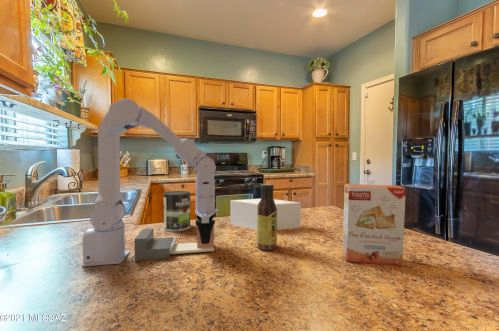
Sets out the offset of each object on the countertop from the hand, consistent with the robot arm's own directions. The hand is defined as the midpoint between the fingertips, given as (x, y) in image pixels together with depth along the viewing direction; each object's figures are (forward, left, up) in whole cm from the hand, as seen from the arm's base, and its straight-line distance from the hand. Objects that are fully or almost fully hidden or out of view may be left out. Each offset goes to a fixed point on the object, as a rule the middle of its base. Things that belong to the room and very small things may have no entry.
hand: (205, 239), depth 72 cm
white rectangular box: (+24, +20, -3) cm, 31 cm away
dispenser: (-14, 0, -3) cm, 15 cm away
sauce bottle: (+19, -2, -3) cm, 19 cm away
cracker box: (+45, -16, -3) cm, 48 cm away
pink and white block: (-5, 0, -2) cm, 6 cm away
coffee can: (-11, +24, -3) cm, 27 cm away
